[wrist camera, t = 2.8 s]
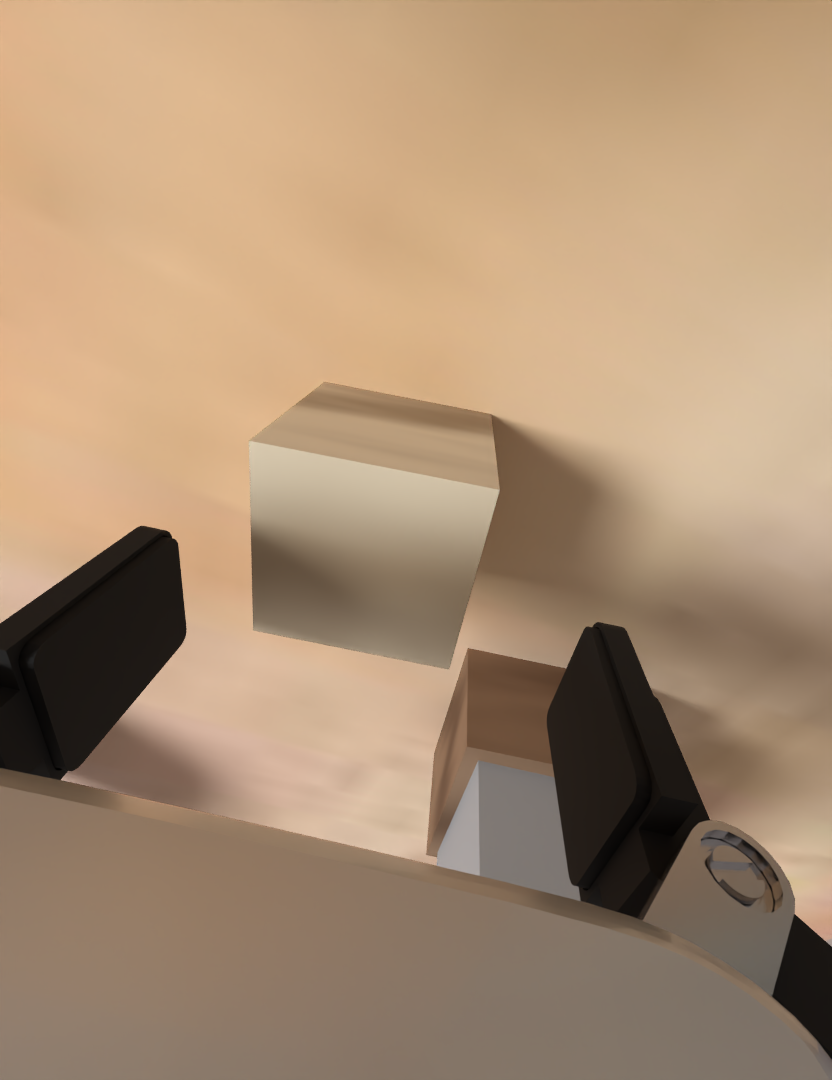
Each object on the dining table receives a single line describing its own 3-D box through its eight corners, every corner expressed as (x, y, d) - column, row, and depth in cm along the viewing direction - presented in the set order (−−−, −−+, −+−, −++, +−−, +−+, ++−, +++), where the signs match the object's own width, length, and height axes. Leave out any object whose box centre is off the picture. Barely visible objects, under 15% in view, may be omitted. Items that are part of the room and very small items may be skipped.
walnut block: (467, 645, 20) (466, 746, 16) (636, 680, 20) (679, 790, 16) (434, 750, 24) (426, 854, 20) (576, 779, 24) (598, 890, 20)
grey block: (478, 760, 16) (480, 934, 12) (657, 800, 16) (722, 987, 12) (437, 852, 20) (427, 1015, 15) (586, 884, 20) (619, 1056, 16)
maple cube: (325, 381, 15) (249, 440, 10) (491, 413, 15) (499, 490, 10) (316, 526, 18) (253, 630, 13) (456, 554, 18) (449, 669, 13)
